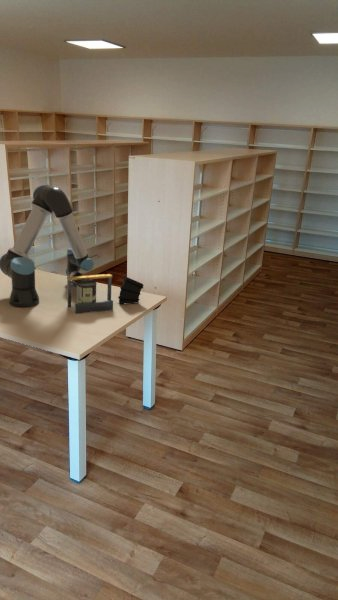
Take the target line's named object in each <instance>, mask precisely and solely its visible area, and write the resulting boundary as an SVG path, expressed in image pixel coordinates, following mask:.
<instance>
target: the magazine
mask: <svg viewBox="0 0 338 600" xmlns="http://www.w3.org/2000/svg"><path fill="white" fill-rule="evenodd" d="M142 289H144V284H143V283H142V282H140V281H137V280H134V279H133V278H130V277H128V276H126V277H124V278H123V282H122V285H121V286H120V290H119V295H118V297H117V298H118V303H119V304H120V305H125V304H124V303H131V304H135V303H134V302H138V303H139V301H141V300H140V296H141V291H142Z"/></svg>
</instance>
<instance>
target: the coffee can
mask: <svg viewBox="0 0 338 600" xmlns="http://www.w3.org/2000/svg"><path fill="white" fill-rule="evenodd" d="M87 302H97V282H96V281H95V280H94V279H92V280H91V279H88V280H80V281H77V288H76V303H87Z"/></svg>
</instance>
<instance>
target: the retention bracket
mask: <svg viewBox="0 0 338 600" xmlns="http://www.w3.org/2000/svg"><path fill="white" fill-rule="evenodd" d="M112 278H113V274H111V273H107V274H106V273H105V274H104V273H103V274H91V275H84V276H73V277H68V276H67V277H66V279H67V280H66V281H67V282H66V285H67V286H66V287H67V288H66V289H67V295H66V296H67V309H71V308H72V286H71V280H83V279H88V280H91V279H92V280H95V279H107V293H106V294H107V295H106V296H107V299H106V300H99V301H96V302H87V303H77V302H76V303H74V313H75V314H76V315H77V314H86V313H87V314H88V313H96V312H105V311H106V310H107V311H113V310H114V300H113V299H112V281H113V279H112Z"/></svg>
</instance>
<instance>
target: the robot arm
mask: <svg viewBox="0 0 338 600" xmlns="http://www.w3.org/2000/svg"><path fill="white" fill-rule="evenodd" d="M32 198H33V199H32V202H31V206H32V209H31V210H30V213H29V214H28V216H27V218H26V221H25V222H24V225H23V227H22V229H21V230H20V232H19V235H18V237H17V239H16V241H15V243H14V244H13V247H9V248H8V250H7V252H6V253H4V254H2V256H0V271H1V272H2V273H3V274H4V275H5V276H7V277H8V278H9V279H11V293H10V295H9V299H8V302H9V305H10V306H12V307H17V308H30V307H34V306H36V305H38V304H39V303H40V297H39V294H38V291H37V289H36V272H35V271H36V266H35V262H34V260H32V259H31V258H30V257H29V253H30V251H31V249H32V248H33V245H34V244H35V241H36V239H37V237H38V235H39V234H40V232H41V229H42V228H43V226H44V223H45V221H46V220H47V217H48V216H50V215H52V214H53V213H54V215H55V218H57V219H58V220H59V223H60V225H61V227H62V230H63V232H64V234H65V235H64V236H65V237H66V239H67V242H68V245H69V246H70V247H69V248H67V250H66V251H67V252H66V259H67V260H66V261H67V262H66V263H67V265H66V269H65V275H66V276H67V277H73V276H85V275H84V274H83V272H82V271H81V270H83V271H84V272H90V271H92V270H93V268H94V267H95V262H94V260H93V259H92V258H90V256H89V254H88V252H87V251H88V250H87V249H86V246H85V244H84V241H83V239H82V237H81V236H82V235H81V233H80V230H79V228H78V225H77V223H76V220H75V218H74V215H73V212H74V211H73V208H72V205H71V203H70V200H69V198H68V196H67V194H65V192H64V191H63V190H62V189H61V188H59V187H56V186H52V185H49V184H40V185H38V186H36V187H35V188H34V190H33V193H32ZM83 280H89V279H83ZM90 280H93V279H90ZM77 281H80V280H71V287H74V288H75V289H77Z"/></svg>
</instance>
